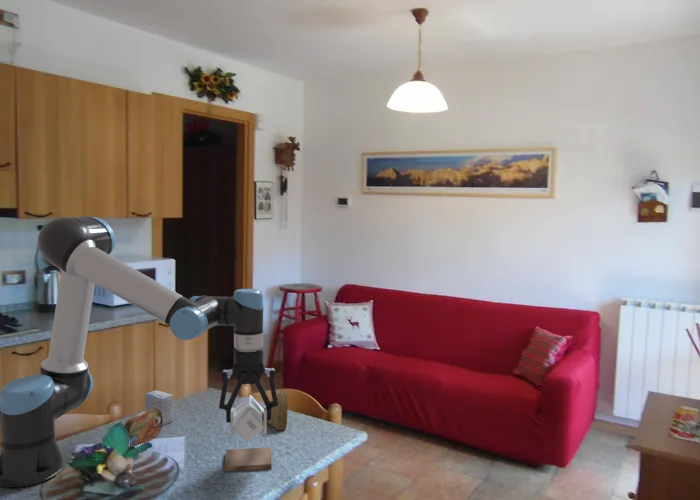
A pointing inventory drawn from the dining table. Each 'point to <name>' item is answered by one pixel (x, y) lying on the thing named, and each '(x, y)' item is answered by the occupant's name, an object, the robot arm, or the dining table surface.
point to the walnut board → (248, 459)
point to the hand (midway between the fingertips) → (248, 432)
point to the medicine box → (161, 404)
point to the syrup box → (248, 418)
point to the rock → (279, 412)
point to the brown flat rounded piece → (144, 426)
